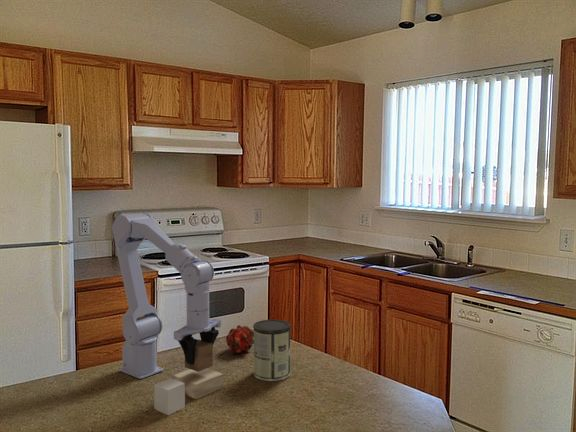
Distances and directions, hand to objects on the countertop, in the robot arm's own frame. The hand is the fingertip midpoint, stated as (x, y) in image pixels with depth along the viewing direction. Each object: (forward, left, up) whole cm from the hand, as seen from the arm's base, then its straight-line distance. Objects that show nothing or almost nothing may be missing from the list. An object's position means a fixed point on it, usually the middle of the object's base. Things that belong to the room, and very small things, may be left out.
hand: (198, 360), depth 133 cm
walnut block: (0, 0, -2) cm, 2 cm away
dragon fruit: (-10, +27, -8) cm, 30 cm away
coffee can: (+9, +19, -8) cm, 22 cm away
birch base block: (0, 0, -8) cm, 8 cm away
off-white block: (+3, -12, -8) cm, 14 cm away
